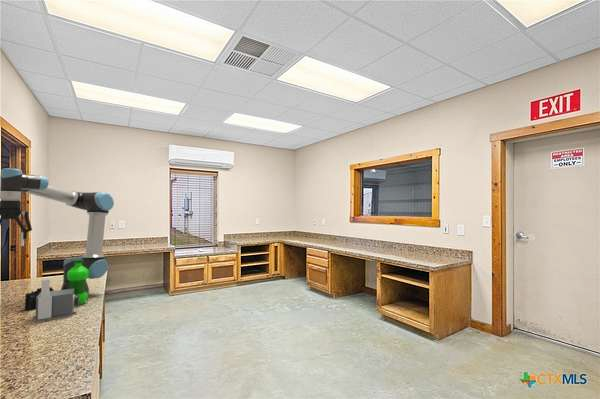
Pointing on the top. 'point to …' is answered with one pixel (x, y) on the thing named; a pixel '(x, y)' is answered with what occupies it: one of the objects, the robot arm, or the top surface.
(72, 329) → the top surface
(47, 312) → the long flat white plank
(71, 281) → the plastic bottle
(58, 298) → the housing
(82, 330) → the top surface
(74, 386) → the top surface
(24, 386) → the top surface
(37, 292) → the camera
